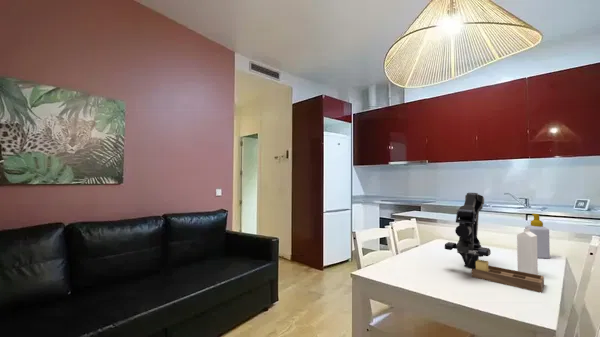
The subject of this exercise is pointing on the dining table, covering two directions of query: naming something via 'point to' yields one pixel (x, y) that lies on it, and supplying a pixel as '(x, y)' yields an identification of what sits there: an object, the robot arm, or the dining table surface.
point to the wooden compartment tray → (511, 278)
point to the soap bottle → (540, 237)
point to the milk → (527, 252)
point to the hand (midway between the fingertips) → (466, 266)
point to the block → (482, 265)
